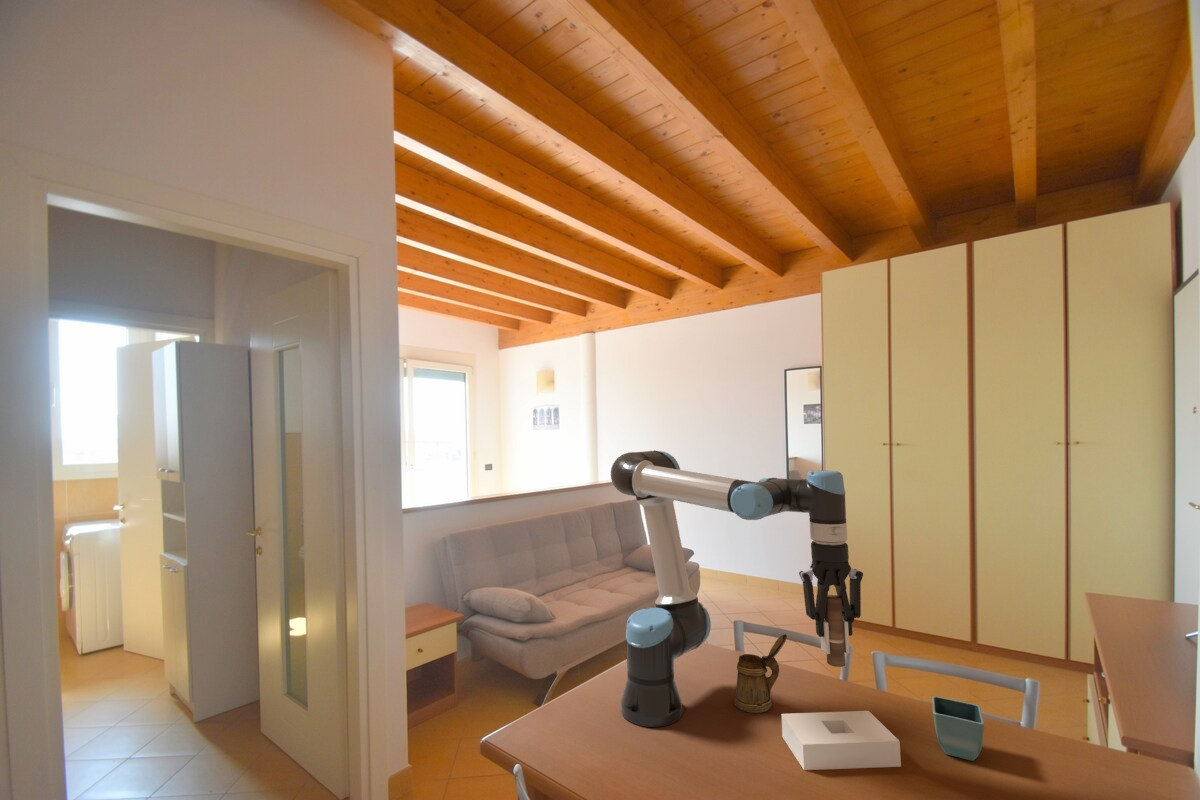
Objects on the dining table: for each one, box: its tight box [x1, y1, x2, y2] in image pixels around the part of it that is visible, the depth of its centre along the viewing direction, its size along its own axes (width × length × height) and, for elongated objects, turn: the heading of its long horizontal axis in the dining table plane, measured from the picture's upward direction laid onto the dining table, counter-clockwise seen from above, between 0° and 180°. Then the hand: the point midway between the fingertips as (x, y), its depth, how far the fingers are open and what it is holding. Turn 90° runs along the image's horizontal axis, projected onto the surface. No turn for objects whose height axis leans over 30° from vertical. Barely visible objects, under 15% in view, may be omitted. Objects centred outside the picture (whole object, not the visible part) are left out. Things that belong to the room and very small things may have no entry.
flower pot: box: [931, 695, 985, 762], centre depth 113 cm, size 9×9×9 cm
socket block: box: [780, 710, 902, 771], centre depth 114 cm, size 12×20×5 cm, turn 92°
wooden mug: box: [733, 634, 788, 714], centre depth 134 cm, size 9×14×18 cm, turn 72°
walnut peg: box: [825, 594, 846, 668], centre depth 115 cm, size 4×4×14 cm
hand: (835, 650), depth 115 cm, fingers closed on walnut peg, 4 cm apart
